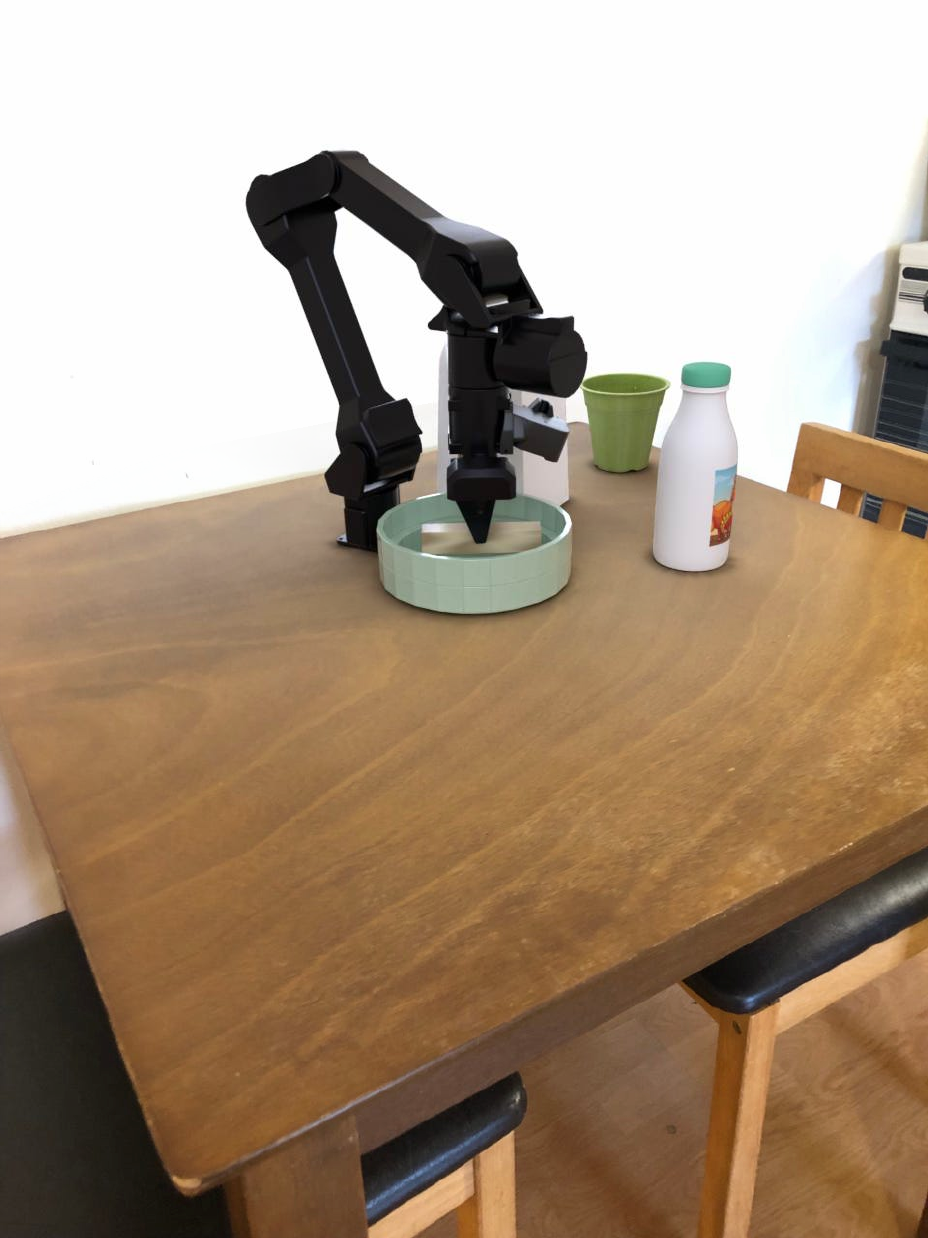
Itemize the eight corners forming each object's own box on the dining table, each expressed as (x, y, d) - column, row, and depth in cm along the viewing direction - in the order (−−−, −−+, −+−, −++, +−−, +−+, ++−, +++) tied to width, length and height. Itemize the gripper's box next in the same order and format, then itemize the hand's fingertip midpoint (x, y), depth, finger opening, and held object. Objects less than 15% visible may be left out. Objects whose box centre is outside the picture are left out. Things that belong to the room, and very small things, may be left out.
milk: (436, 512, 112) (427, 285, 101) (485, 484, 121) (481, 272, 109) (524, 529, 107) (525, 290, 95) (568, 499, 115) (574, 276, 103)
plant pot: (575, 452, 133) (578, 372, 128) (660, 453, 131) (666, 372, 126) (576, 478, 122) (579, 392, 117) (668, 479, 121) (675, 392, 116)
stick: (422, 554, 94) (421, 532, 93) (422, 545, 96) (421, 523, 95) (541, 552, 94) (541, 529, 93) (539, 543, 96) (539, 521, 95)
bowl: (442, 530, 107) (440, 480, 104) (598, 559, 98) (601, 505, 96) (343, 595, 92) (338, 538, 89) (517, 635, 83) (517, 574, 81)
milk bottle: (684, 579, 93) (701, 377, 84) (637, 553, 99) (649, 363, 90) (743, 563, 96) (766, 367, 87) (694, 539, 103) (711, 354, 94)
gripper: (575, 405, 79) (570, 574, 86) (554, 360, 95) (551, 504, 102) (444, 408, 79) (449, 577, 86) (446, 362, 95) (450, 506, 102)
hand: (480, 538), depth 94 cm, fingers closed on stick, 2 cm apart
